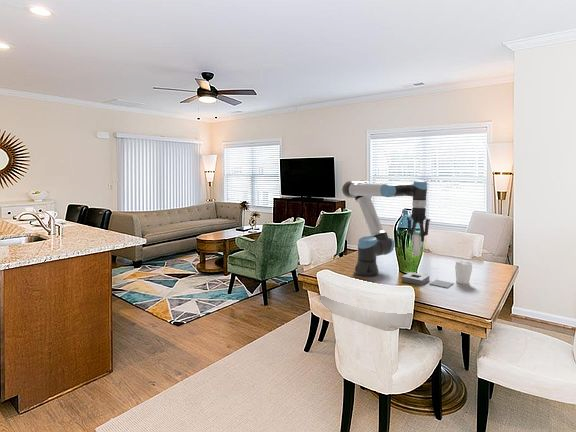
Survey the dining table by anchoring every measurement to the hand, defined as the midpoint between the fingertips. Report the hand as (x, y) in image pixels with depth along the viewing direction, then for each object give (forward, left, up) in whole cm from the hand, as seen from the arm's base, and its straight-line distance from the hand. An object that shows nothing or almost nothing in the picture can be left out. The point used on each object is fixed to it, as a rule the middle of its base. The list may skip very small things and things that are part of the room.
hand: (416, 246), depth 216 cm
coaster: (+14, +4, -22) cm, 26 cm away
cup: (+22, +16, -22) cm, 35 cm away
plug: (0, 0, -5) cm, 5 cm away
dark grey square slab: (0, 0, -22) cm, 22 cm away
